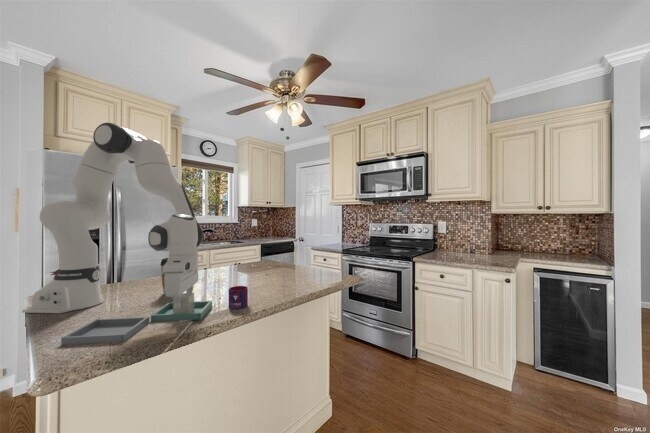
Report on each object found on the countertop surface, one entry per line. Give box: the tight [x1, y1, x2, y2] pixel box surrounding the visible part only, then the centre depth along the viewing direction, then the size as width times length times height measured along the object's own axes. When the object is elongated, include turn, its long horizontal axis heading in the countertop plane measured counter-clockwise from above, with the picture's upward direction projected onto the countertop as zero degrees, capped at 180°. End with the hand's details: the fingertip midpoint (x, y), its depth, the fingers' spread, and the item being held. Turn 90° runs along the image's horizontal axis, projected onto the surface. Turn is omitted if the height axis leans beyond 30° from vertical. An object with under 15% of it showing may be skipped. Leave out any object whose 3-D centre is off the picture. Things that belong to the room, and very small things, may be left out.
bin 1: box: [60, 316, 150, 346], centre depth 78 cm, size 15×13×2 cm
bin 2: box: [150, 300, 213, 322], centre depth 94 cm, size 15×13×2 cm
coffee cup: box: [160, 257, 169, 296], centre depth 120 cm, size 8×8×15 cm
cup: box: [228, 285, 249, 310], centre depth 104 cm, size 7×10×7 cm
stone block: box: [172, 292, 195, 314], centre depth 94 cm, size 5×5×6 cm
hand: (183, 302), depth 94 cm, fingers open, 8 cm apart
